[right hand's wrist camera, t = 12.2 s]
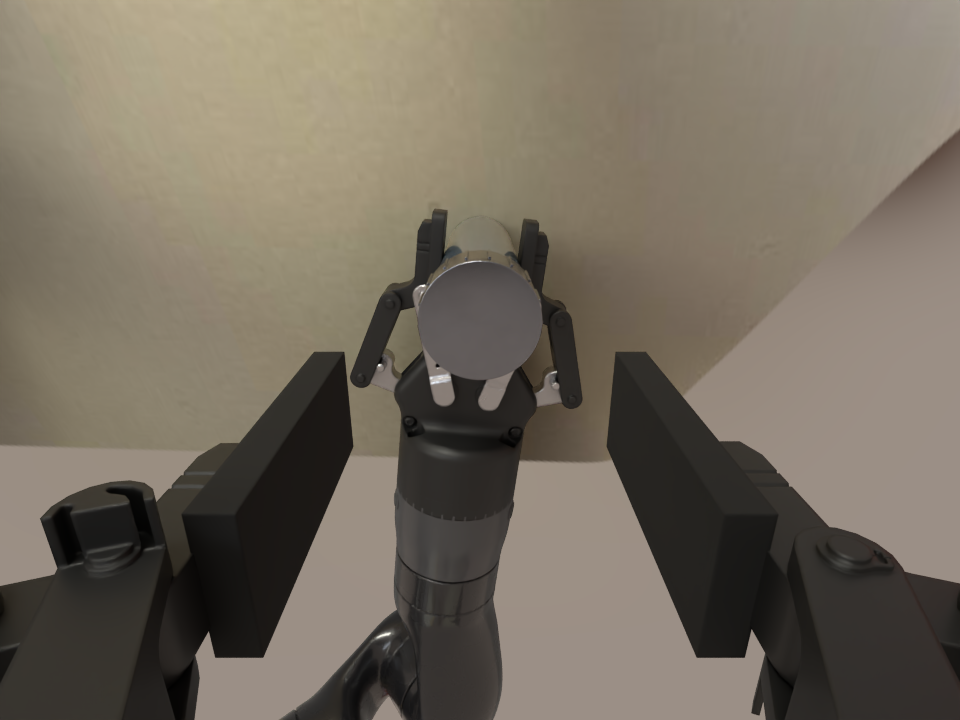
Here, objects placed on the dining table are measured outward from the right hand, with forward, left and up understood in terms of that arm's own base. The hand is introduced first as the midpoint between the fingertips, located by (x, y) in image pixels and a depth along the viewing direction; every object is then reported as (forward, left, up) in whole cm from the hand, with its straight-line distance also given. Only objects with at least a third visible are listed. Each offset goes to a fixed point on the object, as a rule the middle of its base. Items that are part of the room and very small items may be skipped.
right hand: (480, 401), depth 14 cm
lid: (0, 0, -7) cm, 7 cm away
